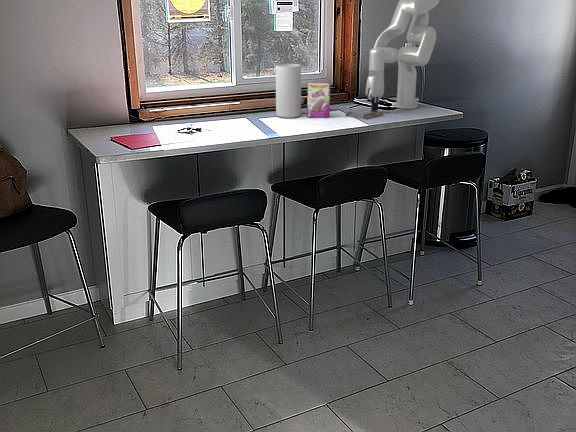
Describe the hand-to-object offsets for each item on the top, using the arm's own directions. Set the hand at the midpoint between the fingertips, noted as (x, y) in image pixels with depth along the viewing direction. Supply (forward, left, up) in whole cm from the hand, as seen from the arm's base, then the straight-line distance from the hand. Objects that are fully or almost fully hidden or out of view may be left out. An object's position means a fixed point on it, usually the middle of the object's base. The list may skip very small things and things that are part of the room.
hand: (374, 110), depth 324 cm
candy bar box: (+26, -15, -2) cm, 30 cm away
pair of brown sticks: (+8, 0, -2) cm, 9 cm away
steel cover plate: (+9, 0, -2) cm, 10 cm away
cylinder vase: (+34, -28, -2) cm, 44 cm away
